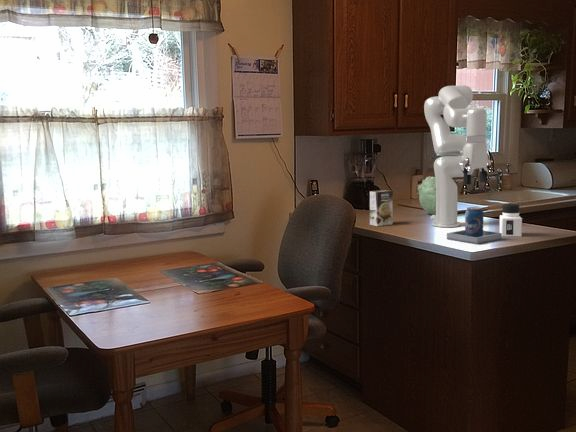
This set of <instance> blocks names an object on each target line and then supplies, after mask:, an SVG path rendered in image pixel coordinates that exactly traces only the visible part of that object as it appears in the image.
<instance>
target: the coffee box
mask: <svg viewBox="0 0 576 432" xmlns="http://www.w3.org/2000/svg"><path fill="white" fill-rule="evenodd" d="M393 192H394V191H393V190H386V189H384V190H383V189H382V190H371V191H369V226H375V227H382V226H383V225H384V226H391V225H393V222H394V221H393V217H394V216H393V206H394V205H393V204H394V203H393ZM384 226H383V227H384Z"/></svg>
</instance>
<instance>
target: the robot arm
mask: <svg viewBox="0 0 576 432" xmlns="http://www.w3.org/2000/svg"><path fill="white" fill-rule="evenodd" d="M473 98H474V93H473V90H472V88H471V87H470V86H468V85H447V86H444V87H442V88H441V89H440V90H439V92H438V96H436V95H435V96H431V97H429V98H427V99H426V100H425V101H424V105H423V108H424V109H423V110H424V111H423V112H424V116H425V121H426V122H427V124H428V126H429V129H430V133H431V139H432V144H433V150H434V153H435V154H436V155H438V158H437V157H436V159H435V161H434V162H433V170H434V177H435V179H436V215H432V214H431V216H430V217H429V218H430V220H433V221H432V226H433V227H438V228H456V227H460V226H461V222H460V221H458V185H457V183H456V182H455V181H454V179H453V178H460V177H461V178H463V185H469V186H470V185H472V175H473V172H474V170H480V172H479V183H488V173H489V169H490V168H491V164H492V161H491V160H490V159H489V158H488V157H489V156H488V154H489V153H488V146H487V125H488V124H487V123H488V120H487V119H488V118H487V117H488V115H487V114H488V113H487V110H486V109H485V108H478V107H477V108H476V107H471V108H468V107H469V106H470V105H471V104H472V102H473ZM441 115H443V117H442V116H441ZM450 127H451V128H466V134H461V133H457V134H454V133H453V134H452V133H451V128H450ZM439 156H440V157H439Z"/></svg>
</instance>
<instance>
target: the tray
mask: <svg viewBox="0 0 576 432" xmlns="http://www.w3.org/2000/svg"><path fill="white" fill-rule="evenodd" d="M502 237H503V236H502V233H499V232H496V231H490V230H484V229H483V236H481V237H471V236H466V235H465V229H463V230H456V231H452V232H447V233H446V240H448V241H455V242H460V243H467V244H471V245H472V244H473V245H481V244H485V243H490V242H496V241H500V240H502Z"/></svg>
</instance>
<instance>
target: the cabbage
mask: <svg viewBox="0 0 576 432" xmlns="http://www.w3.org/2000/svg"><path fill="white" fill-rule="evenodd" d="M417 191H418V193H417V195H418V201H419V204H420V205H421V207H422V209H423V210H424V211H425V212H426V213H427V214H429V215H431V216H432V215H436V179H435V176H430V175H429V176H426V178H425V179H422V181H421V184H418V185H417Z"/></svg>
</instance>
